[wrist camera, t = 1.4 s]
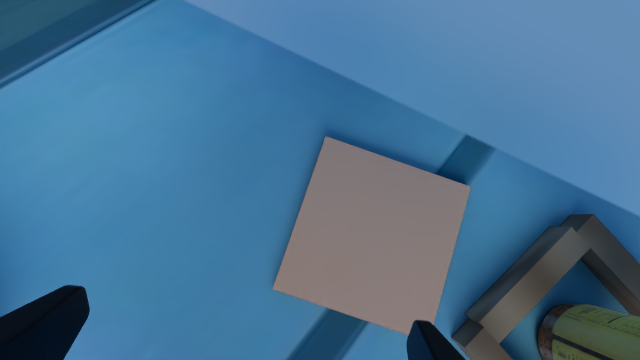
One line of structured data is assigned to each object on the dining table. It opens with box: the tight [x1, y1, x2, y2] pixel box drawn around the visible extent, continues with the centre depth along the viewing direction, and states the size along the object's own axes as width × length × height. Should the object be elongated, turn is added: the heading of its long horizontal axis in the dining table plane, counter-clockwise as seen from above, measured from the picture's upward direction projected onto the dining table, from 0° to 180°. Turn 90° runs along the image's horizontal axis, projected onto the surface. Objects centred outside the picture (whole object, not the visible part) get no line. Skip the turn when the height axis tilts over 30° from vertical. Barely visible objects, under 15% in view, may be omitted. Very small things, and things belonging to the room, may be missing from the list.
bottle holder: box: [451, 214, 640, 360], centre depth 23 cm, size 14×14×2 cm
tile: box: [273, 136, 471, 335], centre depth 24 cm, size 12×12×1 cm
